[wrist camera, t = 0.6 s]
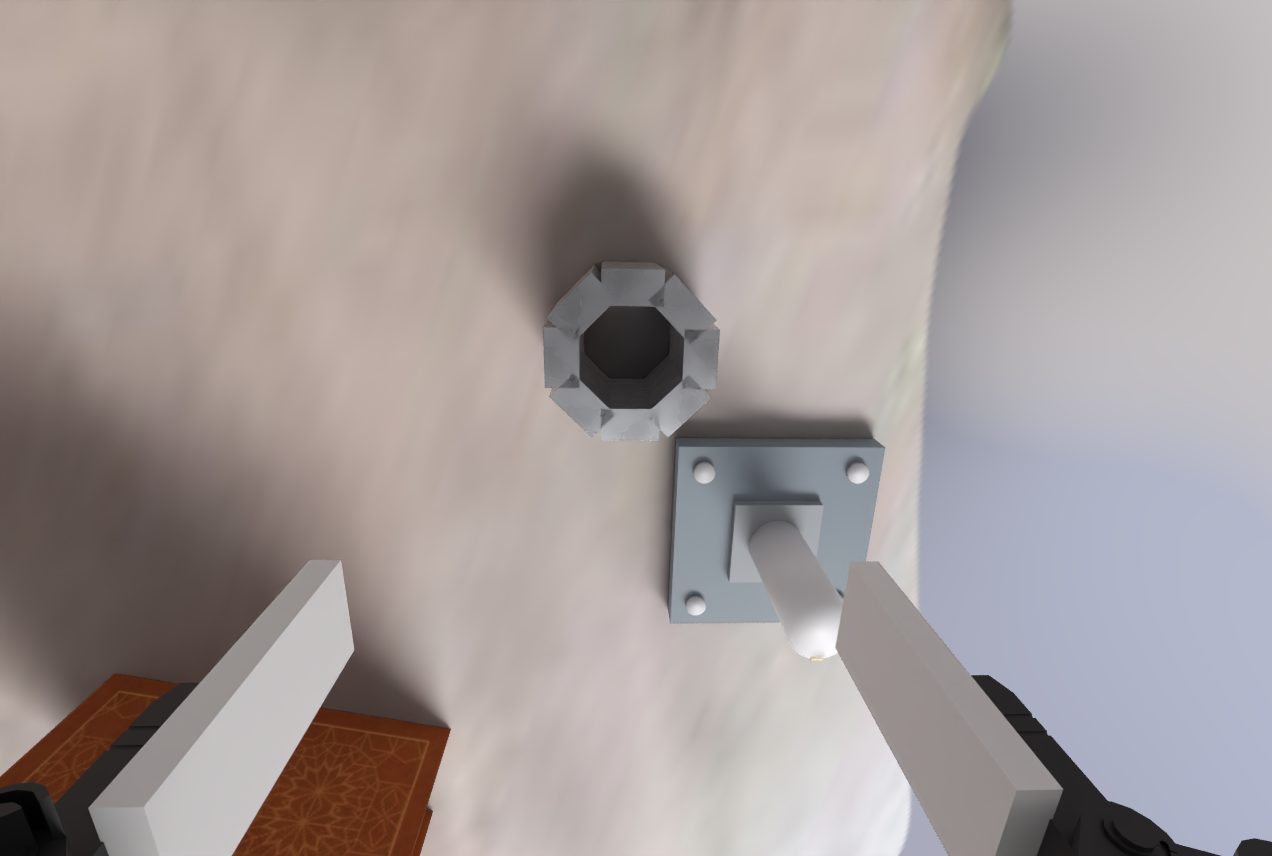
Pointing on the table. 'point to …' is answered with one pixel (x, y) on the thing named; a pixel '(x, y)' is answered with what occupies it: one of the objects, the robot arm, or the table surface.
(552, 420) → the table surface
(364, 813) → the book
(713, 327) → the hub
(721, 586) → the shaft block
